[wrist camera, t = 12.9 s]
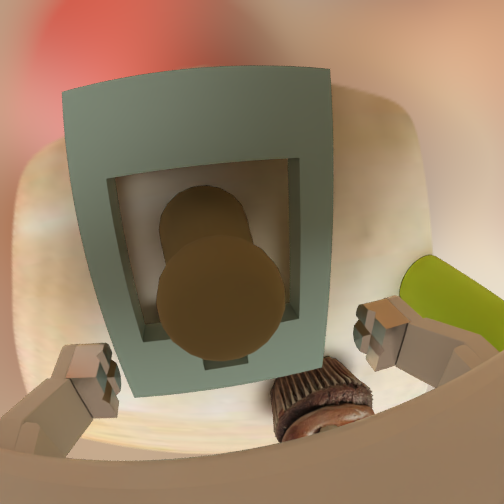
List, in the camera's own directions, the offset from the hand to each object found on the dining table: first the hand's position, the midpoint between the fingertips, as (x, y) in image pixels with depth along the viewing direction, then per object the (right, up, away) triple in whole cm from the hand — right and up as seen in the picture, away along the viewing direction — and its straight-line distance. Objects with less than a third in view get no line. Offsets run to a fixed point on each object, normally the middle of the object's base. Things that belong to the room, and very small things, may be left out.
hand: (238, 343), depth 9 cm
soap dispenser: (+17, -1, +18) cm, 25 cm away
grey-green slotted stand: (-3, +4, +12) cm, 13 cm away
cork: (-3, +4, +12) cm, 13 cm away
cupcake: (+6, -10, +20) cm, 23 cm away
